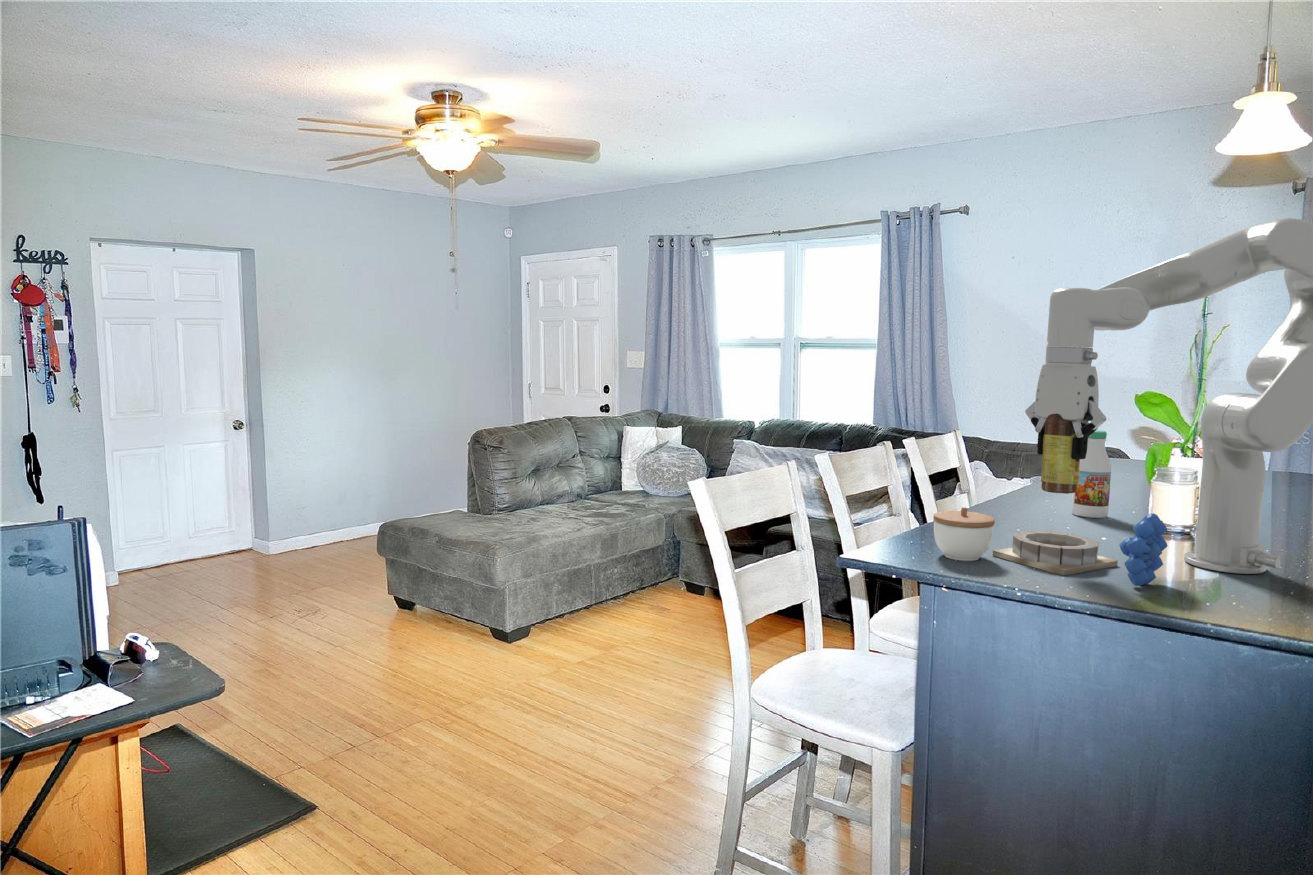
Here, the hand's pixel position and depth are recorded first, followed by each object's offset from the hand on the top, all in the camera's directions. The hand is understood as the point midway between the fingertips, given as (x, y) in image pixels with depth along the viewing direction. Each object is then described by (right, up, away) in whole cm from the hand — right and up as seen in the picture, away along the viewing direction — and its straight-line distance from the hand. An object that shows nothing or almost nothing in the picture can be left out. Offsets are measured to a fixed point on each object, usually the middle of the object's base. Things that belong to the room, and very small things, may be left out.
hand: (1061, 455), depth 155 cm
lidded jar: (-17, -19, +4) cm, 26 cm away
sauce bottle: (0, -7, +1) cm, 7 cm away
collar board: (0, -20, +2) cm, 20 cm away
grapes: (+7, -22, -12) cm, 26 cm away
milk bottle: (+28, -15, +45) cm, 55 cm away
